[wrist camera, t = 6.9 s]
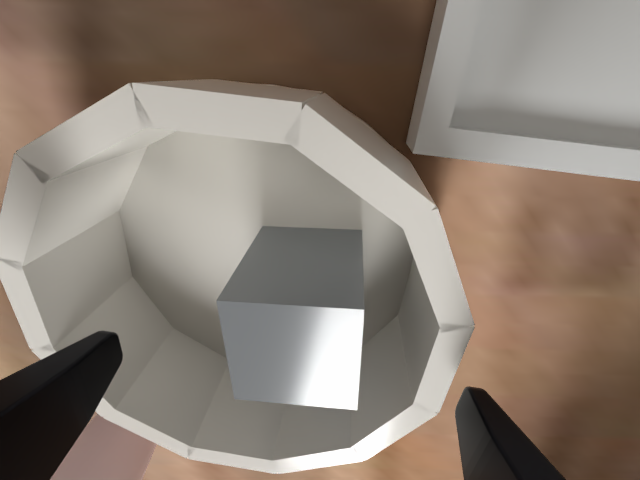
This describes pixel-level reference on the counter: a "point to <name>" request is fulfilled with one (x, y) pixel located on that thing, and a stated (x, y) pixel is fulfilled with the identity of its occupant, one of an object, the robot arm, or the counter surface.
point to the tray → (532, 85)
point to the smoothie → (106, 454)
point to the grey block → (296, 318)
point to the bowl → (227, 262)
